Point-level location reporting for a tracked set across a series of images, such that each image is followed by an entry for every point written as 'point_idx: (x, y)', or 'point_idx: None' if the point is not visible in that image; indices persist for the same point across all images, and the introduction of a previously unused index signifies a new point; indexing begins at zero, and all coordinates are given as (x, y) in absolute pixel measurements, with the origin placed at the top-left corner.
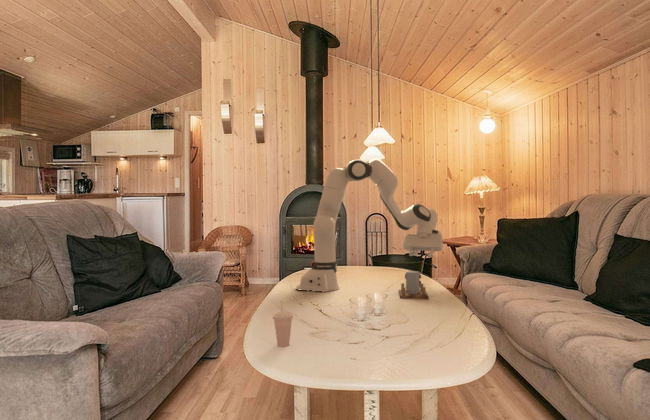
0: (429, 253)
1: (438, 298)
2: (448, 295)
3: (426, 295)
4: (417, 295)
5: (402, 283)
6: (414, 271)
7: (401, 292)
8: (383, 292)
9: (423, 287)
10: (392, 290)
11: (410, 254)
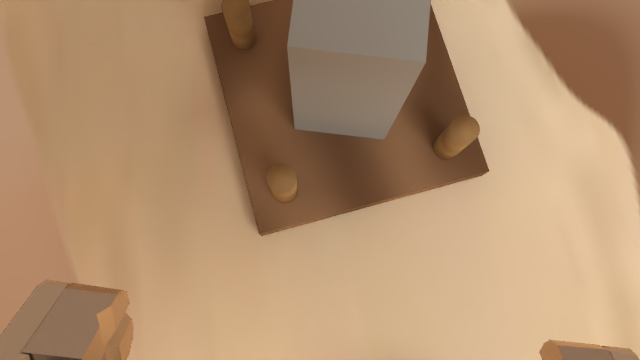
0: (49, 318)
1: (135, 57)
2: (60, 185)
3: (222, 30)
4: (290, 10)
5: (467, 131)
6: (350, 37)
7: (436, 74)
8: (595, 128)
9: (239, 10)
10: (552, 230)
11: (587, 344)
